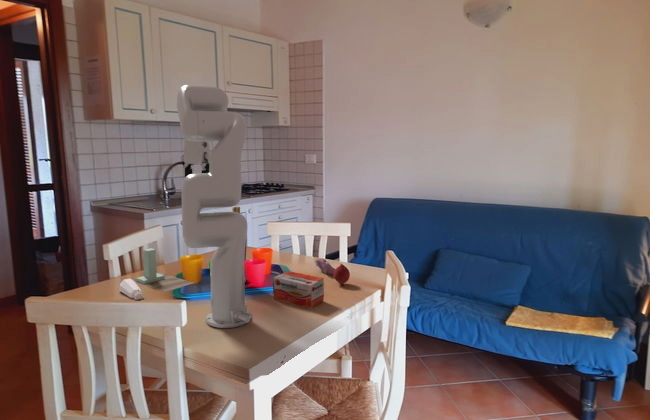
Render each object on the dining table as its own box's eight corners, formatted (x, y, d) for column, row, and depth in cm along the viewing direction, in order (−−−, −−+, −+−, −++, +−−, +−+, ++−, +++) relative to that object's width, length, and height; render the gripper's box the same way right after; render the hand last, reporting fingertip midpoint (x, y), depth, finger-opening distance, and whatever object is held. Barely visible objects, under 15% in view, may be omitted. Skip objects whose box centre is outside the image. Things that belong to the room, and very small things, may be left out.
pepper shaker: (115, 283, 147) (128, 295, 139) (131, 275, 150) (144, 286, 142) (122, 296, 149) (135, 308, 142) (137, 287, 152) (150, 299, 145)
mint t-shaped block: (164, 278, 163) (163, 248, 161) (144, 284, 156) (142, 252, 155) (156, 275, 166) (155, 246, 164) (136, 281, 159) (134, 250, 158)
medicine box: (272, 299, 147) (272, 276, 146) (287, 292, 154) (287, 270, 152) (310, 309, 139) (311, 285, 138) (324, 301, 146) (325, 278, 145)
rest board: (194, 285, 159) (194, 283, 158) (164, 294, 149) (164, 291, 149) (160, 274, 170) (160, 272, 170) (131, 282, 161) (131, 280, 160)
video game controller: (318, 273, 181) (311, 259, 179) (327, 267, 183) (321, 253, 180) (329, 280, 172) (322, 265, 170) (338, 274, 174) (332, 259, 171)
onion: (349, 282, 165) (350, 261, 164) (349, 287, 160) (349, 265, 158) (334, 281, 166) (334, 260, 165) (332, 286, 160) (333, 265, 159)
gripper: (219, 134, 162) (220, 181, 165) (189, 133, 172) (190, 178, 175) (203, 133, 156) (204, 182, 159) (172, 133, 166) (174, 179, 169)
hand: (197, 180), depth 167 cm, fingers open, 9 cm apart
